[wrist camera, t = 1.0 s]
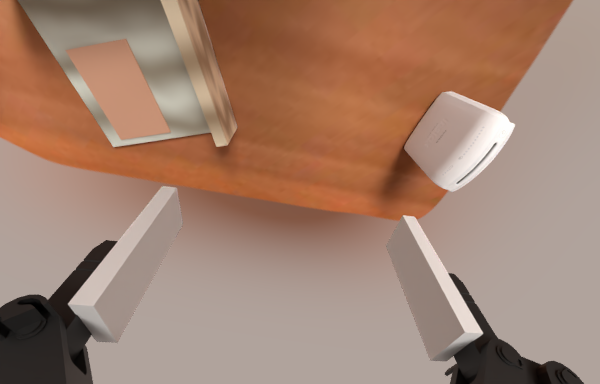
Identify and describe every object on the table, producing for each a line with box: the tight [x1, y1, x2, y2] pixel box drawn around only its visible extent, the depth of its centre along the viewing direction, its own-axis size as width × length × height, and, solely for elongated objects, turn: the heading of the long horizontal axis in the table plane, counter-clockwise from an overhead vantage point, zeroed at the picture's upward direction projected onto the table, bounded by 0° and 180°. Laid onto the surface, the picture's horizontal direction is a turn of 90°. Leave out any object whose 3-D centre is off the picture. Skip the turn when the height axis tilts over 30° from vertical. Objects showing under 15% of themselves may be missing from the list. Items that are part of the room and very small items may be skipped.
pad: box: [65, 39, 171, 140], centre depth 33 cm, size 12×8×1 cm, turn 9°
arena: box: [18, 0, 238, 147], centre depth 29 cm, size 20×20×6 cm
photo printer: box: [404, 92, 515, 192], centre depth 31 cm, size 10×4×12 cm, turn 158°
